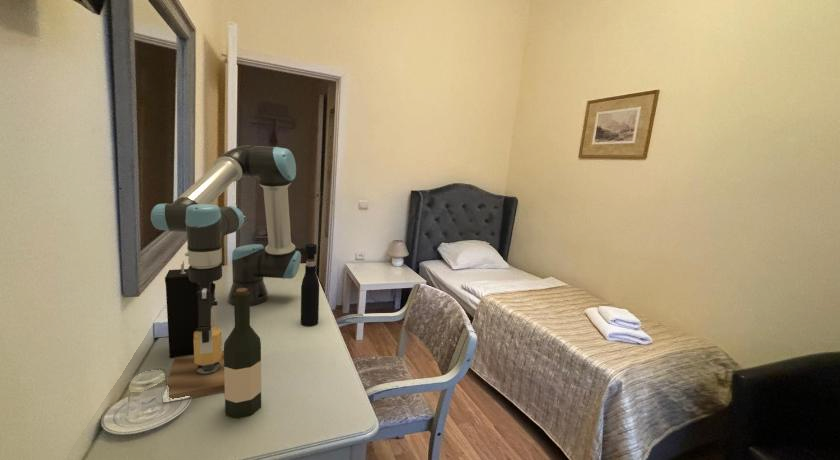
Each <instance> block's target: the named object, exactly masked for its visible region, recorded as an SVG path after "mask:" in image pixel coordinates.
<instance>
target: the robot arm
mask: <svg viewBox="0 0 840 460" xmlns="http://www.w3.org/2000/svg"><path fill="white" fill-rule="evenodd" d="M296 176H297V165H296V160H295V156H294V154H293V153H292V151H291V150H290V149H288V148H285V147H280V146H279V147H278V146H267V145H250V144H248V145H241V146H236V147H234V148H232V149H230V150H228V151H226V152H224V153H223V154H221V155H219V156H218V158H216V159H215V161H214V162H213V166H212V167H211V168H210V169H209V170H208V171H206V173H204V174H203V175H202V176H201V177H200V178H198V179H197V181H195V183H193V184H191V186H190V187H189V188H187V190H185V191H184V192H183V193H182V194H181V195H179V196H178V198H176V199H175V200H174V201H173V202H172V203H168V202H165V203H158V204H156V205H155V206H154V207H152V210H151V212H150V213H151V214H150V221H151V223H152V226H153V227H154V228H155V229H157V230H159V231H167V232H173V233H174V232H178V233H186V242H187V252H185V253H184V256H185V257H187V261H188V262H187V264H188V265H189V266H188V268H187V269H188V273H189V280H190V281H191V282H195V283H196V282H197V283H200V285H198V288H197V295H198V304H199V316H198V328H196V331H199V340H200V354H205V353H211V352H213V344H212V327H211V326H216V327H217V324H216V306H218V301H216V297H215V295H216V283H214V282H216V281H219V280H221V279H222V277H223V265H222V262H223V250H222V249H223V247H222V237H225V236H226V235H230V234H234V233H235V232H237V231H238V230H241V228H242V227H243V226H244V222H245V216H244V213H243V212H242V210H241V209H240V208H238V207H235V206H231V205H230V206H229V205H228V206H222V207H219V205H216V204H213V203H214V202H215V201H216V200H217V199H218V198H219V196H221V195H222V193H224V192H225V191H226V190H227V189H228V188H229V186H230V185H231V184H233V182H234V183H235V182H238V181H239V180H240V179H241V178H257V181H258V185H259V186H260V187H261V188H263V198H264V208H265V209H264V210H265V220H266V221H265V222H266V229H267V230H266V231H267V232H266V233H267V241H268V242H267V245H266V246H264V245H263V244H259V243H257V244H256V243H255V244H253V243H252V244H246V245H240V246H238V247H236V248H234V249H233V251H232V254H231V255H232V256H231V264H232V266H231V269H232V284H231V286H230V290H229V293H228V297H227V299H228V300H227V301H228V303H229V304H230V305H232V306H234V293H235V292H236V289H239V288H247V291H249V293H250V306H255V305H259V304H263V303H265V302H266V301H267V300H268V299H269V292H268V290H267V286H266V284H265V282H264V278H269V279H271V278H273V279H283V280H285V279H289V280H290V279H294V278H295V277H296V275H297V274H298V272H299V269H300V265H301V261H302V260H301V259H302V254H301V252H300V251H299V250H297V249H296V245H295V244H294V243H293V242H292V237H291V236H292V235H291V221H290V220H291V219H290V204H289V192H288V189H289V186H290V185H292V181H294V179H295V178H296Z"/></svg>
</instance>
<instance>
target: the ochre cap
mask: <svg viewBox="0 0 840 460" xmlns="http://www.w3.org/2000/svg"><path fill="white" fill-rule="evenodd" d="M211 327H212V344H213V352H211V353H205V354H200V340H199V331H195V332H194V363H195V364H198V365H201V366H203V365H209V364H214V363H216V362H217V361H219V360H221V356H222V351H223V349H222V329H221V328H220V327H219V326H217V325H216V326H211Z"/></svg>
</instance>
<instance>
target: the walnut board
mask: <svg viewBox="0 0 840 460" xmlns="http://www.w3.org/2000/svg"><path fill="white" fill-rule="evenodd" d="M172 361H173V362H172V364H171V368H170V371H169V375H168V378H167V381H166V384H167V385H168V387H169V397H170V398H172V399H174V398H180V397H185V396H190V397H192V398H191V399H193V398H198V397H203V396H209V395H215V394H219V393H225V381H224V350H222V356H221V360H219V361H217V362H219V363H220V366H221V367H220V369H219V370H218V371H217V372H215V373H212V374H208V375H200V374H198V373H197V367H198V366H199V365H198V364H195V363H194V355H187V356H181V357H175V358H174V359H173V360H172Z"/></svg>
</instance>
